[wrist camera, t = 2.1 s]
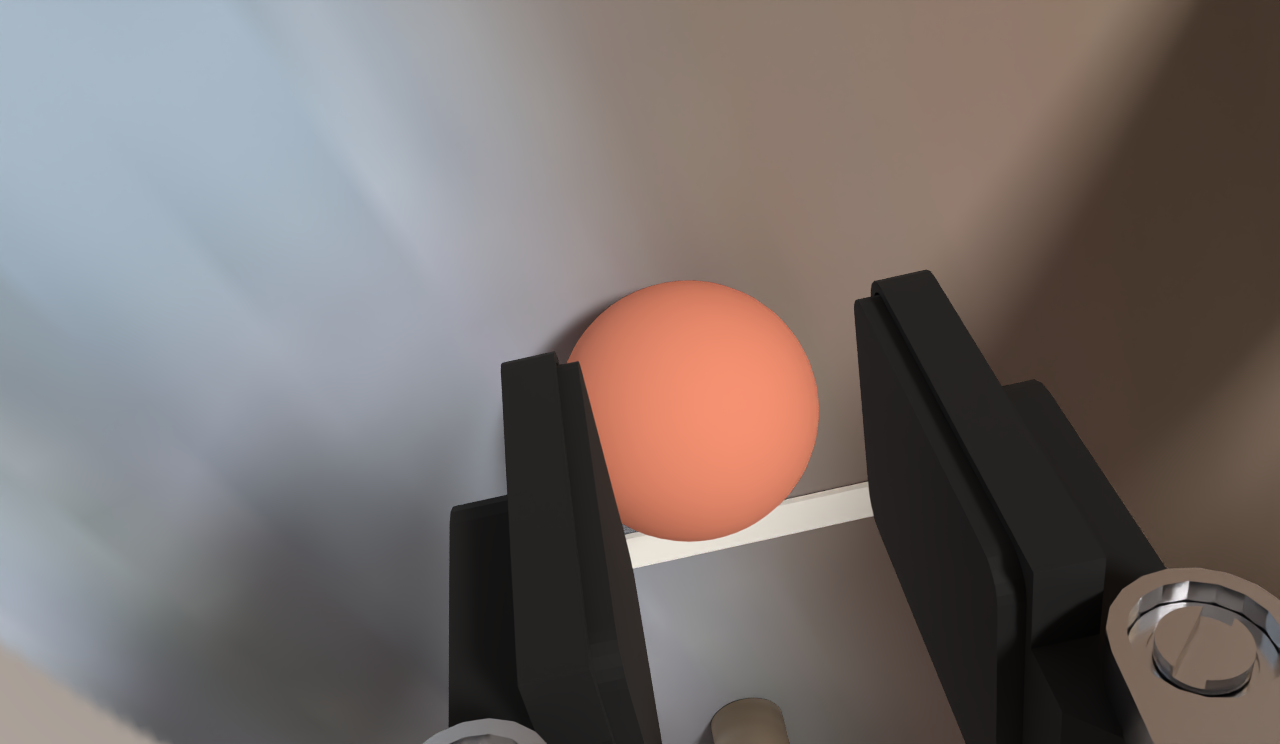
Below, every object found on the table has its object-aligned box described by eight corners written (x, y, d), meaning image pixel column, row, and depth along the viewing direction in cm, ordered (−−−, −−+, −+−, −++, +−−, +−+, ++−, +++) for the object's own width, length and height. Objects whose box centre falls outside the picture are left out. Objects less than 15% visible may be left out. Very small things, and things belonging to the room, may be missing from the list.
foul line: (876, 479, 34) (879, 484, 34) (879, 509, 34) (881, 514, 34) (532, 554, 34) (532, 559, 34) (541, 583, 34) (542, 588, 34)
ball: (795, 224, 28) (863, 373, 24) (778, 420, 32) (835, 584, 27) (543, 241, 28) (562, 396, 23) (554, 438, 31) (572, 609, 27)
